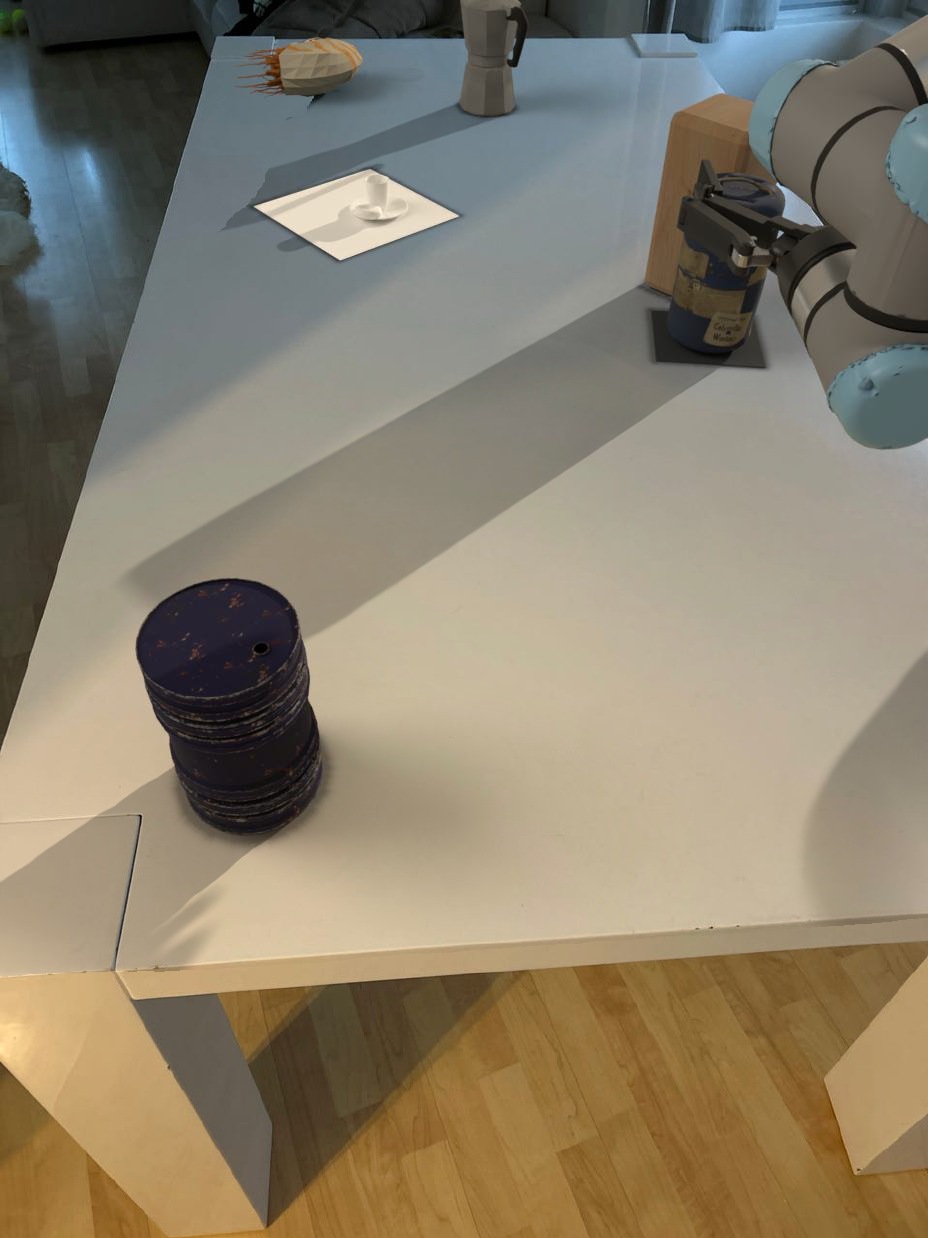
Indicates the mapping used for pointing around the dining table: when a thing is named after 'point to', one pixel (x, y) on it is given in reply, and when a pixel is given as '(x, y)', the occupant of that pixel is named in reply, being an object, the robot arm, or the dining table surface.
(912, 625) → the dining table surface
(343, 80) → the nautilus shell
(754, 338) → the mat
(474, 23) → the coffeepot
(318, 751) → the navy cylinder
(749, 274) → the canister
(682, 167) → the wooden block
